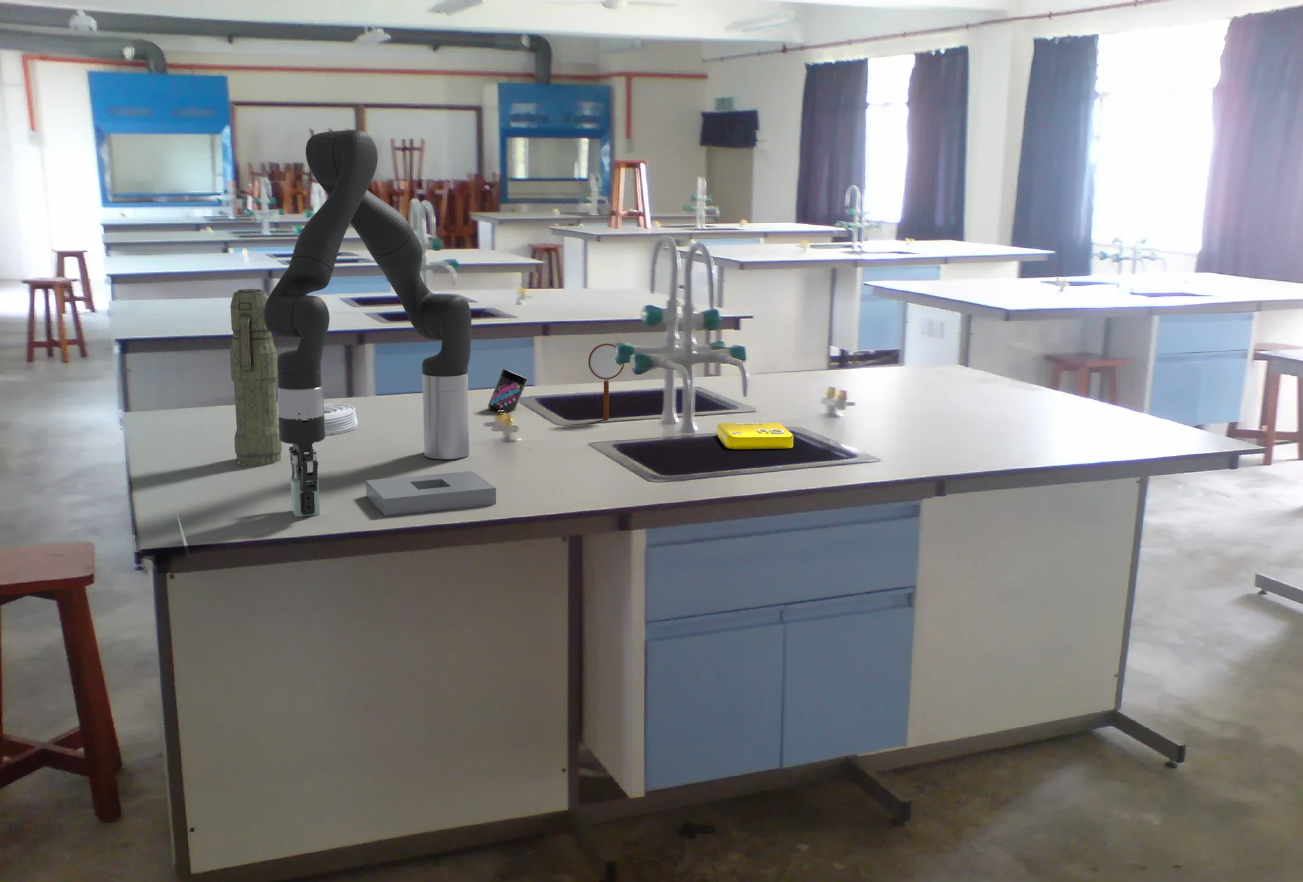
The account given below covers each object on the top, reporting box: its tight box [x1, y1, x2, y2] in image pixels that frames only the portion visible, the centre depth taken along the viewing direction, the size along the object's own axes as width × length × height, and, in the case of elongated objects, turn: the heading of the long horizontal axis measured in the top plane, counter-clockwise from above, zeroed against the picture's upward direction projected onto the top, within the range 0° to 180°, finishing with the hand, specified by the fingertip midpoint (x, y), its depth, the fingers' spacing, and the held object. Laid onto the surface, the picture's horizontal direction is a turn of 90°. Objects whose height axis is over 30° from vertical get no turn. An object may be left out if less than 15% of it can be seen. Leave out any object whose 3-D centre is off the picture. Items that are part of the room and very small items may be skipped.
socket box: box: [365, 470, 497, 516], centre depth 211 cm, size 14×20×3 cm
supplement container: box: [487, 368, 529, 413], centre depth 289 cm, size 7×7×10 cm
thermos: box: [229, 288, 283, 467], centre depth 233 cm, size 9×12×35 cm
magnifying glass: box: [588, 342, 625, 421], centre depth 279 cm, size 9×2×20 cm, turn 101°
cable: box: [324, 403, 359, 437], centre depth 266 cm, size 18×18×6 cm
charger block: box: [289, 476, 321, 518], centre depth 201 cm, size 4×4×6 cm
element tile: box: [716, 422, 794, 450], centre depth 261 cm, size 15×15×5 cm
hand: (305, 510), depth 202 cm, fingers closed on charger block, 4 cm apart
